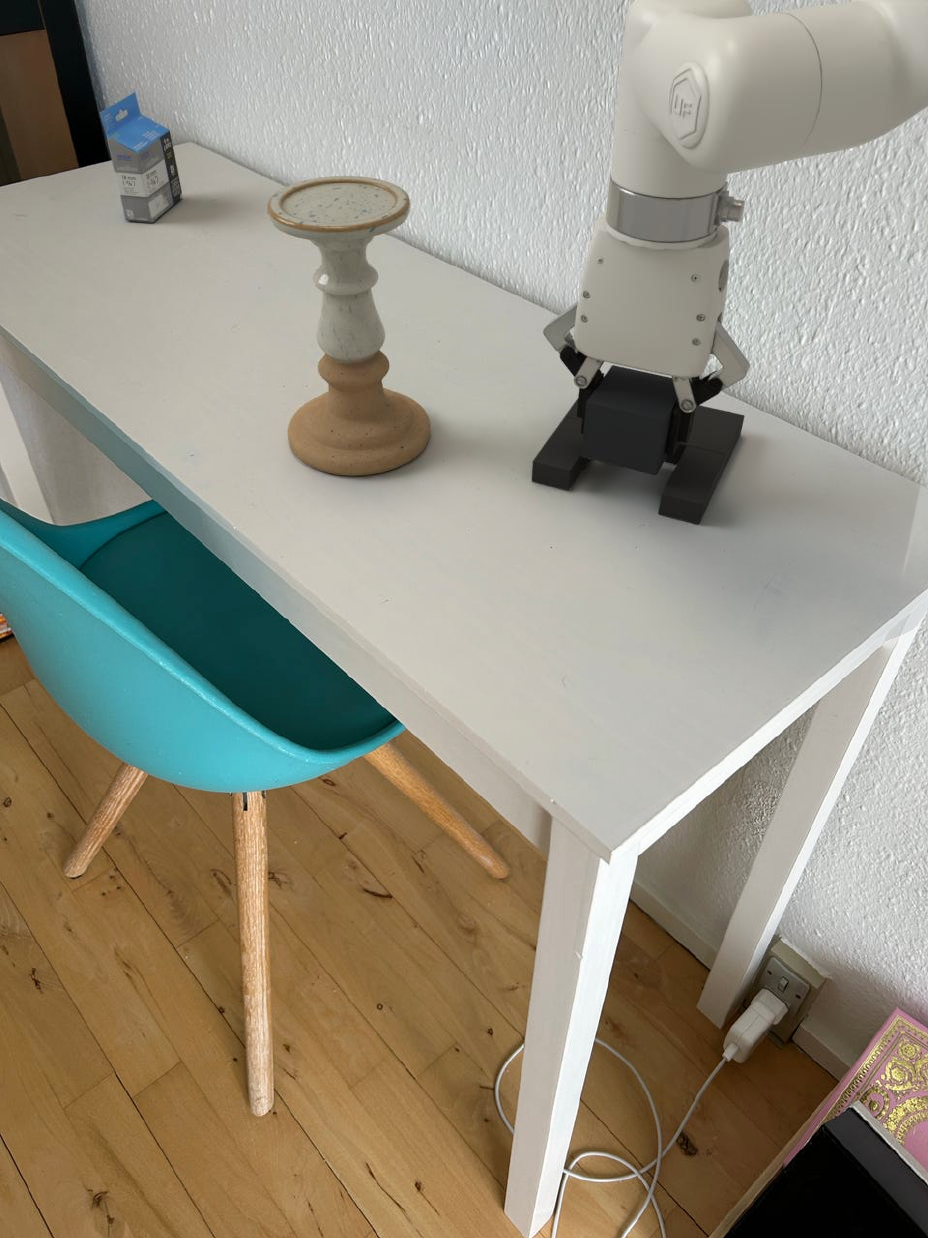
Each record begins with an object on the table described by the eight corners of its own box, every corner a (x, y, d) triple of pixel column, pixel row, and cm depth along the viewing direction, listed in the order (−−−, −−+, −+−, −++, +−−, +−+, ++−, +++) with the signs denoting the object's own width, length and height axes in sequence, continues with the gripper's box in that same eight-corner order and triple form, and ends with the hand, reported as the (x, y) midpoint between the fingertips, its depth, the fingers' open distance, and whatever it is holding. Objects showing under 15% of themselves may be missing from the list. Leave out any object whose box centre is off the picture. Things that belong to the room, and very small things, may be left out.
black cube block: (678, 435, 79) (688, 380, 76) (656, 476, 75) (665, 420, 72) (605, 418, 81) (612, 364, 78) (580, 457, 77) (586, 401, 74)
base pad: (740, 434, 85) (745, 414, 83) (698, 525, 76) (703, 504, 74) (588, 400, 89) (590, 380, 88) (531, 481, 80) (532, 460, 79)
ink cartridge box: (153, 224, 119) (129, 115, 111) (124, 221, 120) (98, 112, 112) (184, 197, 126) (164, 92, 117) (156, 195, 126) (134, 90, 118)
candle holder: (275, 474, 81) (234, 230, 67) (303, 397, 90) (273, 168, 76) (423, 480, 80) (413, 235, 66) (437, 402, 89) (431, 171, 75)
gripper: (805, 207, 65) (750, 437, 77) (561, 169, 70) (547, 390, 83) (782, 250, 60) (728, 488, 72) (522, 205, 65) (513, 435, 78)
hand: (631, 434), depth 77 cm, fingers closed on black cube block, 6 cm apart
